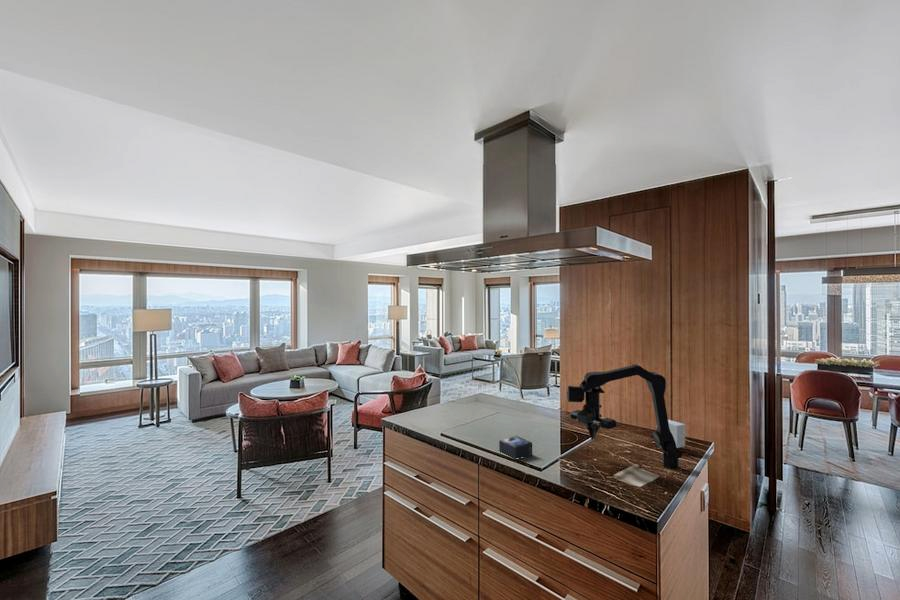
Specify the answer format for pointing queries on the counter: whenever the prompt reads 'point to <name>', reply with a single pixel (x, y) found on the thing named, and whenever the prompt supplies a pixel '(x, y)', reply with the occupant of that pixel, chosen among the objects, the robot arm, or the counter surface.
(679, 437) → the skincare box
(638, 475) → the board
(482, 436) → the counter surface
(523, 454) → the small box
